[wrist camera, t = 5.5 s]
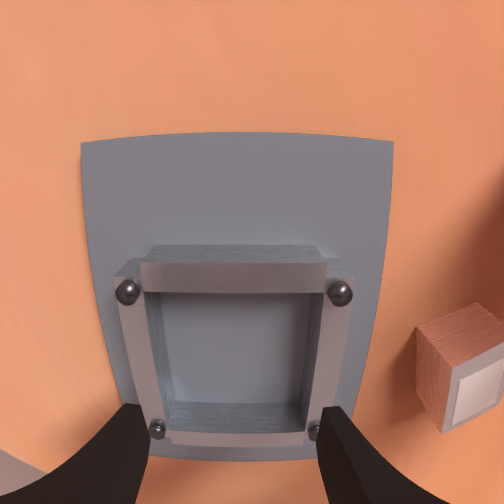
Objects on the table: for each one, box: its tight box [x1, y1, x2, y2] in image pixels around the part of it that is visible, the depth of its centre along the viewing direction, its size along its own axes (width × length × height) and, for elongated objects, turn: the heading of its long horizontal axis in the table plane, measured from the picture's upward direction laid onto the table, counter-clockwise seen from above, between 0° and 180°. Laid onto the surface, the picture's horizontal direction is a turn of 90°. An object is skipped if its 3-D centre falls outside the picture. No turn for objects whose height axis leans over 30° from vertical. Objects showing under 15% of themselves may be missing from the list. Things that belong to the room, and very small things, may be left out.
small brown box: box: [415, 301, 504, 435], centre depth 15 cm, size 5×6×4 cm
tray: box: [81, 132, 394, 462], centre depth 15 cm, size 14×20×4 cm
